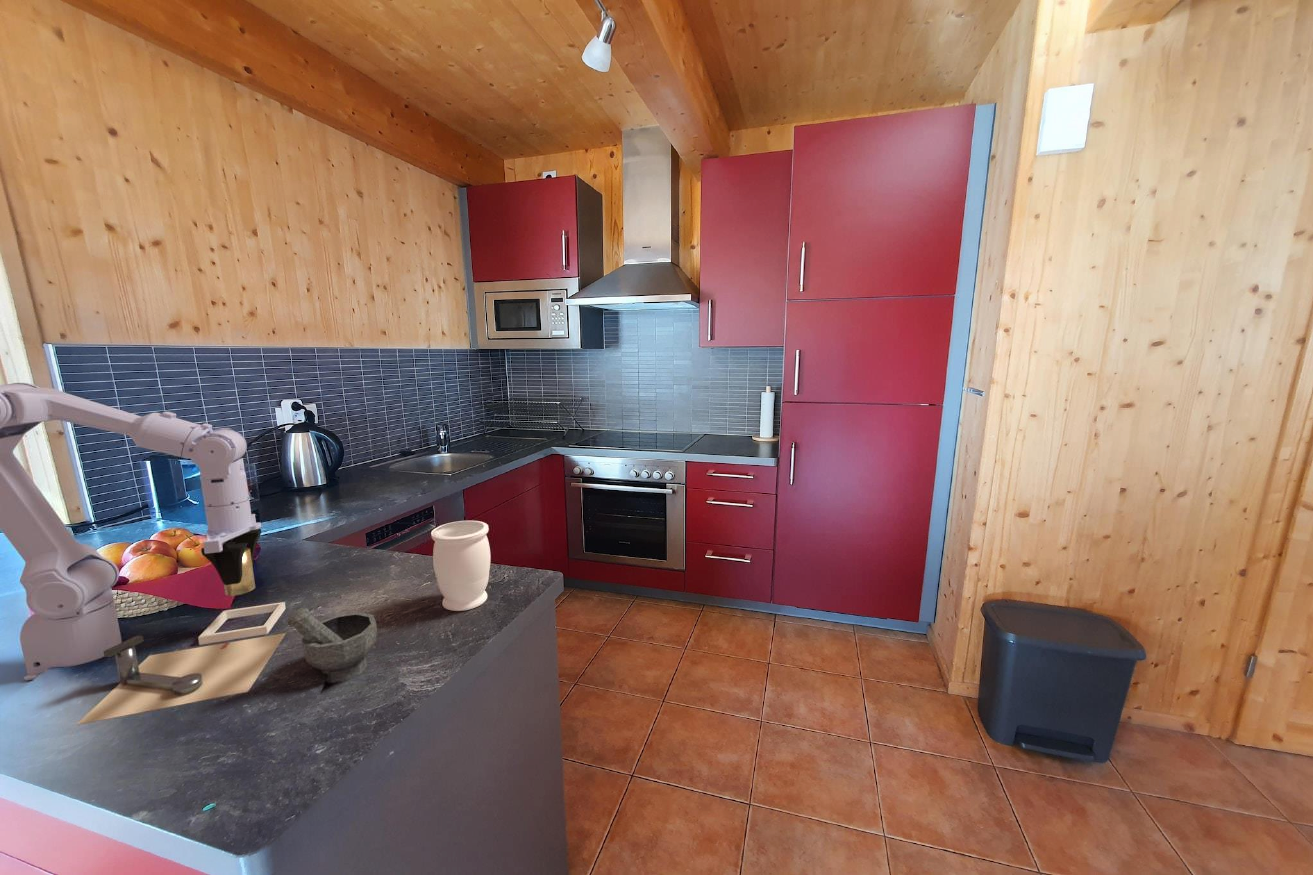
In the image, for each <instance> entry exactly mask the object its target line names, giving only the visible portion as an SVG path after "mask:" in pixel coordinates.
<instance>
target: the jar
mask: <svg viewBox="0 0 1313 875" xmlns="http://www.w3.org/2000/svg"><path fill="white" fill-rule="evenodd" d="M489 530H490V528H489V524H487V523H486V522H484V521H479V520H459V521H453V522H448V523H445V524H441V525H439V526H437V527H436V528H434V529H433V530H432V531H431V535H430V536H431V539H432V540H433V541H434V544H433V553H432V562H433V570H434V574H435V577H436V581H437V586H438V588H439V591H440V593H441V594H442V596H443V599H442V604H441V605H442V606H443V608H444V609H446V610H449V611H453V612H462V611H468V610H472V609H474V608H477V607H479V606H481V605H483V604H484V603H485V602H486V601H487V599H488V593H487V591H486V588H487V586H488V583H489V578H490V570H491V548H490V543H489V539H488V536H487V534H488V533H489Z"/></svg>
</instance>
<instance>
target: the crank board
mask: <svg viewBox="0 0 1313 875" xmlns="http://www.w3.org/2000/svg"><path fill="white" fill-rule="evenodd" d="M286 634H287V633H286V632H284V633H279V634H272V635H266V636H259V637H254V638H249V639H242V640H237V641H236V640H235V641H230V642H225V643H224V642H223V643H216V644H212V645H206V646H199V647H195V648H194V647H193V648H192V647H191V648H188V649H187V648H186V649H181V650H176V651H175V650H174V651H169V652H164V653H156V654H149V655H148V656H147V657H146V658H145V659H144V660H143V661H142V662H141V663H140V664H138V666H139V672H141V673H149V674H158V675H166V676H174V677H183V676H186V675H189V674H193V673H200V674H201V675H202V681H203V684H202V685H201V686H200V687H199V688H198V689H196V690H194V691H192V692H189V693H186V694H181V695H176V694H174V691H173V690H168V689H160V688H152V687H144V686H136V685H128V684H127V685H121V684H120V683H118V685H116V686H115V687H114V688H113V689H112V690H111V691H110V692H109V693H108V694H107V695H106V696H105V697H104V698H103V699H102V700H100V701H99V703H98V704H96V705H95V706H94V707H93V708H92V709H91V710H90V711H88V712H87V714H86V715H85V716H83V717H82V718H81V719H80V720H79V721H78V722H77V723H76V724H75V726H79V725H84V724H89V723H95V722H99V721H104V720H110V719H114V718H120V717H121V718H122V717H125V716H130V715H137V714H140V713H145V712H146V713H147V712H151V711H156V710H161V709H166V708H171V707H176V706H181V705H187V704H193V703H197V702H203V701H207V700H212V699H218V698H223V697H227V696H229V697H230V696H233V695H239V694H242V693H248V692H249V691H250V689H251V688H252V686H253V685H254V683H255V682H256V680H257V679H258V677H259V676H260V675H261V673H262V671H263V669H264V668H265V666H266V665H267V663H268V662H269V661H270V659H271V657H272V656H273V654H274V652H275V651H276V649H277V648H278V646H279V645H280V644H281V642H282V640H283V638H284V637H285V636H286Z"/></svg>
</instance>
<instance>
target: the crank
mask: <svg viewBox="0 0 1313 875" xmlns="http://www.w3.org/2000/svg"><path fill="white" fill-rule="evenodd" d="M142 642H144V636H143V635H135V636H132V637H131V638H129V639H127V640H125V641H122V643H120V644H118V645H116V646H114V647H111V648H109V649H107V650H105V651H103V652H104V658H105V657H106V658H111V657H115V663H116V668H117V673H118V677H119V678H118V679H119V684H121V685H127V684H128V685H136V686H144V687H152V688H160V689H168V690H173V691H174V694H176V695H181V694H186V693H189V692H192V691H194V690H196V689H198V688H199V687H200V686H201V685H202V684H203V681H202V675H201V674H200V673H193V674H189V675H186V676H183V677H174V676H166V675H158V674H149V673H141V672H139V661H138V657H137V651H136V646H137V645H139V644H141V643H142Z"/></svg>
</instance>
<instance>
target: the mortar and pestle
mask: <svg viewBox="0 0 1313 875" xmlns="http://www.w3.org/2000/svg"><path fill="white" fill-rule="evenodd" d="M286 620H287V621H286V623H287V625H288V626H289V627H293V628H295V630H297V631H298V633H299V634H301V645H302V651H303V652H302V653H303V655H304V657H305V658H304V659H305V661H306V662H307V663H308V664H309V665H310V666H311V667H312V668H315V669H318V670H321V673H322V674H325V675H327V677H326V679H325V682H326V683H330V684H333V683H339V682H344V681H349V680H351V679H353V678H354V677H356V676H358V675H360V674H362V672H363V671H364V670H365V669H367V667H368V663H367V658H366V656H367V655H368V654H369V653H370V652H371V651H372V650H373V648H374V646H375V644H376V641H377V636H378V635H377V634H378V628H377V621H376V619H375V616H374V614H369V613H364V612H351V613H345V614H343V613H342V614H337V615H334V616H332V617H329V618H326V619H324V620H322V621H319V620H318V619H317V618H315V616H313V615H312V614H311V613H310V610H309V609H308V608H307V607H300V608H299V609H296V610H294V612H292V613H291V614H290V616H288V619H286Z"/></svg>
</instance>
